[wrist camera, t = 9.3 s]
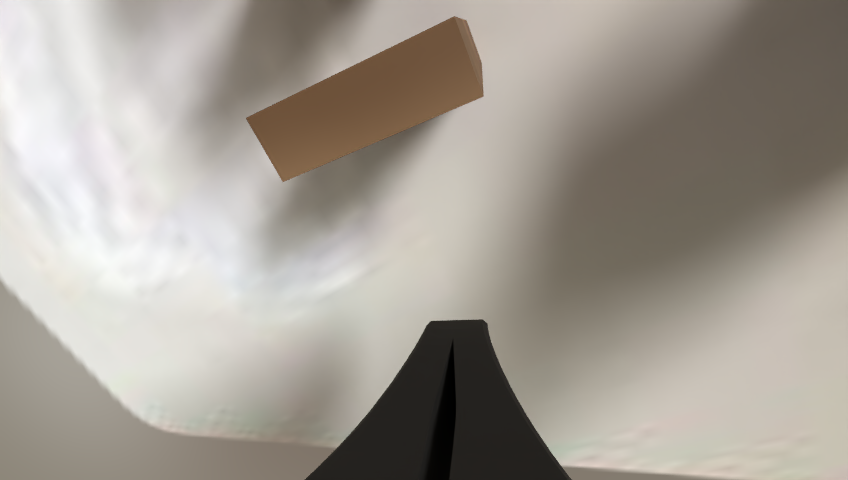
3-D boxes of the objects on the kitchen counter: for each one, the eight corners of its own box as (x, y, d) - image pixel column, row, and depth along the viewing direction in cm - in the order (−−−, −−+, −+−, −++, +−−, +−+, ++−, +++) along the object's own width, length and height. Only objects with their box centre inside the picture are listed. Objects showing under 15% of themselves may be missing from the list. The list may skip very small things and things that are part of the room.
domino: (481, 62, 17) (483, 96, 9) (368, 113, 18) (283, 181, 10) (466, 20, 17) (454, 16, 8) (350, 76, 18) (245, 117, 10)
